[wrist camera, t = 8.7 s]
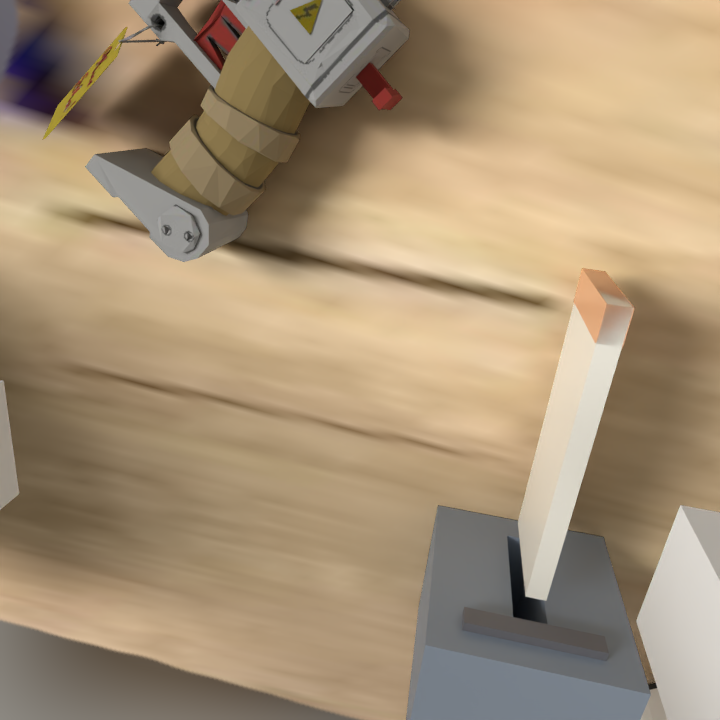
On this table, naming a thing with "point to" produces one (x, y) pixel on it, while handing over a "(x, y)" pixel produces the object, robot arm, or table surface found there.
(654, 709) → the mug
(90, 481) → the table surface
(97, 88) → the table surface
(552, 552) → the slim white post
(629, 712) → the block
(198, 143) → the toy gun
